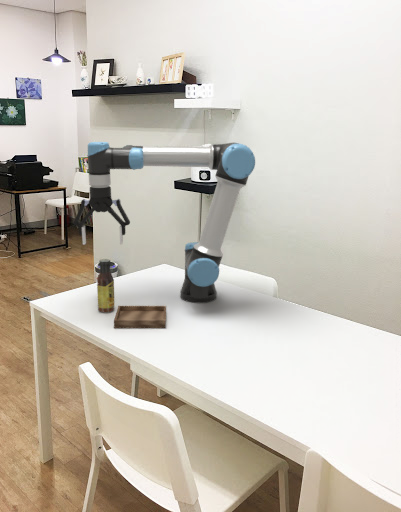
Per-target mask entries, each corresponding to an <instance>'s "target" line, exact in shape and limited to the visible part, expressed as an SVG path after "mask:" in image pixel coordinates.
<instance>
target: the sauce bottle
mask: <svg viewBox="0 0 401 512" xmlns="http://www.w3.org/2000/svg"><path fill="white" fill-rule="evenodd" d="M98 263H99V273H98V276H97V278H96V281H97V284H96V286H97V287H96V289H97V290H96V292H97V293H96V294H97V308H98V309H97V310H98V311H99V313H100V312H101V313H107V314H108V313H112V312H113V311H114V310H115V279H114V277H113V275H112V271H111V259H108V258H102V259H100V260H99V262H98Z"/></svg>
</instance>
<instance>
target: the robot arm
mask: <svg viewBox="0 0 401 512" xmlns="http://www.w3.org/2000/svg"><path fill="white" fill-rule="evenodd" d="M86 157H87V166H88V167H87V169H88V183H89V199H85V198H83V199H82V200H80V207H79V210H78V212H77V214H76V216H75V218H74V221H73V223H72V224H73V226H76V227H78V235H79V236H81V238H82V240H81V241H82V245H83V246H84V245H86V244H87V236H86V225H84V224H85V223H86V222H87V220H88V219H89V218H90V216H91V215H92V214H93V213H94V212H96V213H106V212H108V214H110V215H111V217H113V219H114V220H115V221H116V222H117V223H118V224H119V228H118V230H119V244H120V245H123V243H124V237H123V236H125V235H126V233H127V232H126V226H129V225H130V223H131V221H130V219H129V217H128V215H127V214H126V211H125V210H124V208H123V206H122V204H121V203H122V202H121V199H120V198H117V199H114V200H113V198H112V188H111V183H112V182H111V170H133V171H135V170H142V169H143V168H144V167H173V168H175V167H176V168H177V167H178V168H181V167H185V168H187V167H188V168H189V167H191V168H208V169H209V170H211V171H216V173H215V178H216V180H217V183H216V186H215V188H214V189H215V190H214V192H213V193H214V194H213V196H212V199H211V202H210V206H209V209H208V212H207V214H206V215H207V216H206V218H205V221H204V225H203V228H202V231H201V235H200V238H199V241H198V242H197V241H196V242H195V241H194V242H188V243H186V244H185V248H184V281H183V283H182V286H181V289H180V293H179V294H180V295H179V296H180V299H181V300H183V301H186V302H189V303H197V304H202V303H209V302H212V301H215V300H216V299H217V296H218V295H217V288H216V285H215V282H217V280H218V278H219V275H220V265H221V261H222V258H223V256H224V253H223V252H222V250H221V249H222V245H223V243H224V240H225V237H226V234H227V230H228V228H229V225H230V221H231V218H232V215H233V212H234V208H235V206H236V203H237V201H238V200H237V199H238V197H239V194H240V190H241V189H242V188H245V186H247V182H248V180H249V177H250V176H251V174H252V173H253V171H254V170H255V166H256V156H255V155H254V152H253V151H252V149H251V148H250V147H248V146H247V145H246V144H243V143H240V142H239V143H238V142H227V143H219V144H217V143H215V144H214V143H213V144H210V145H209V146H172V145H171V146H169V145H168V146H167V145H166V146H165V145H164V146H158V145H154V146H153V145H132V144H127V145H124V146H123V147H110V143H109V142H108V141H90V142H88V144H87V156H86ZM113 204H114V206H115V207H117V210H118V212H119V213H120V215H121V216H122V218H121V217H120V216H119V215H118V213H116V211H115V210H114V208H112V205H113ZM88 205H90V207H91V209H90V210H89V211H88V212H87V213H86V215H85V216H84V217H83V218H82V220H81V221H80V219H81V216H82V215H83V212H84V210H85V208H86V206H88Z"/></svg>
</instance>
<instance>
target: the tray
mask: <svg viewBox="0 0 401 512" xmlns="http://www.w3.org/2000/svg"><path fill="white" fill-rule="evenodd" d="M166 323H167V305H118V306H117V309H116V312H115V315H114V319H113V329H166V327H167V324H166Z"/></svg>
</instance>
